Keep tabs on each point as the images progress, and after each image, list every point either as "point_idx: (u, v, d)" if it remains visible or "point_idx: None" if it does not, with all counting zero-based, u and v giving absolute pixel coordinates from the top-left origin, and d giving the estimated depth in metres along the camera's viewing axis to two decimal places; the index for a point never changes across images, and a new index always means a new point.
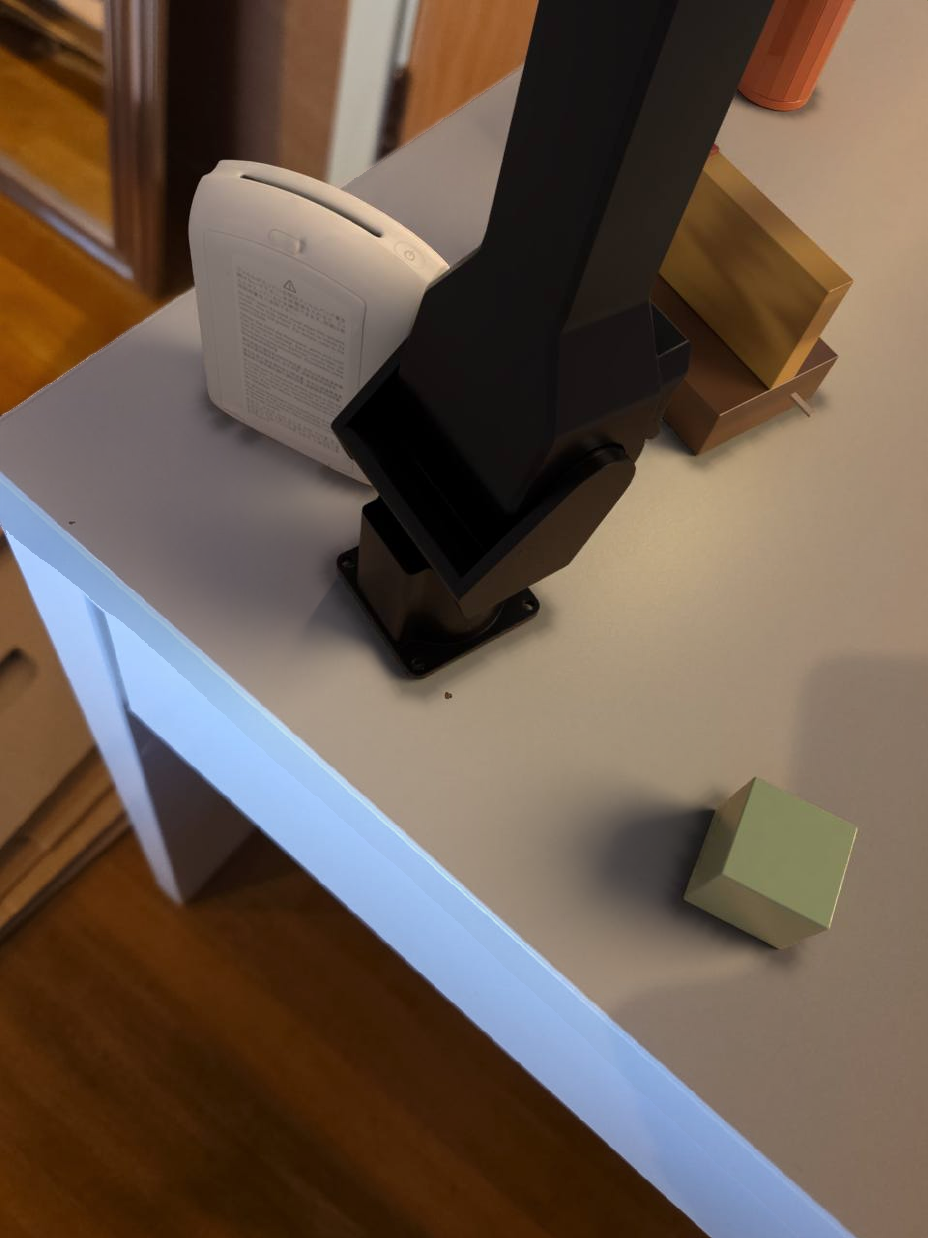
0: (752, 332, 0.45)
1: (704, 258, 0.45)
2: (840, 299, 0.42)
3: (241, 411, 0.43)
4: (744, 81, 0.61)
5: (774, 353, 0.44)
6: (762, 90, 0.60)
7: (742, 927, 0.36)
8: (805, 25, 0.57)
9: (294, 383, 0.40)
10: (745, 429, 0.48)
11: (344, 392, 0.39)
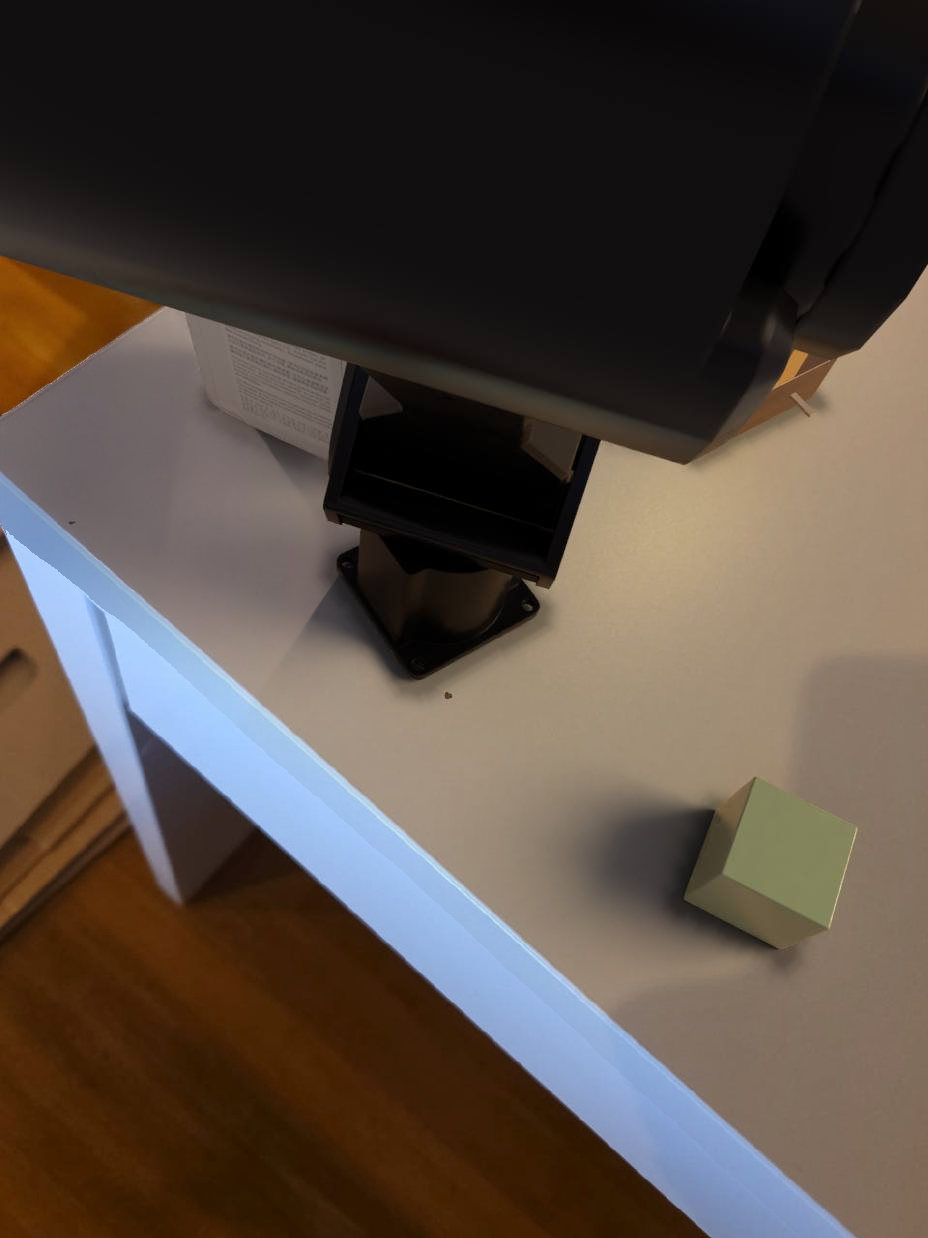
0: None
1: None
2: None
3: (237, 409, 0.43)
4: None
5: None
6: None
7: (742, 927, 0.36)
8: None
9: (281, 378, 0.39)
10: (745, 429, 0.48)
11: (330, 383, 0.38)
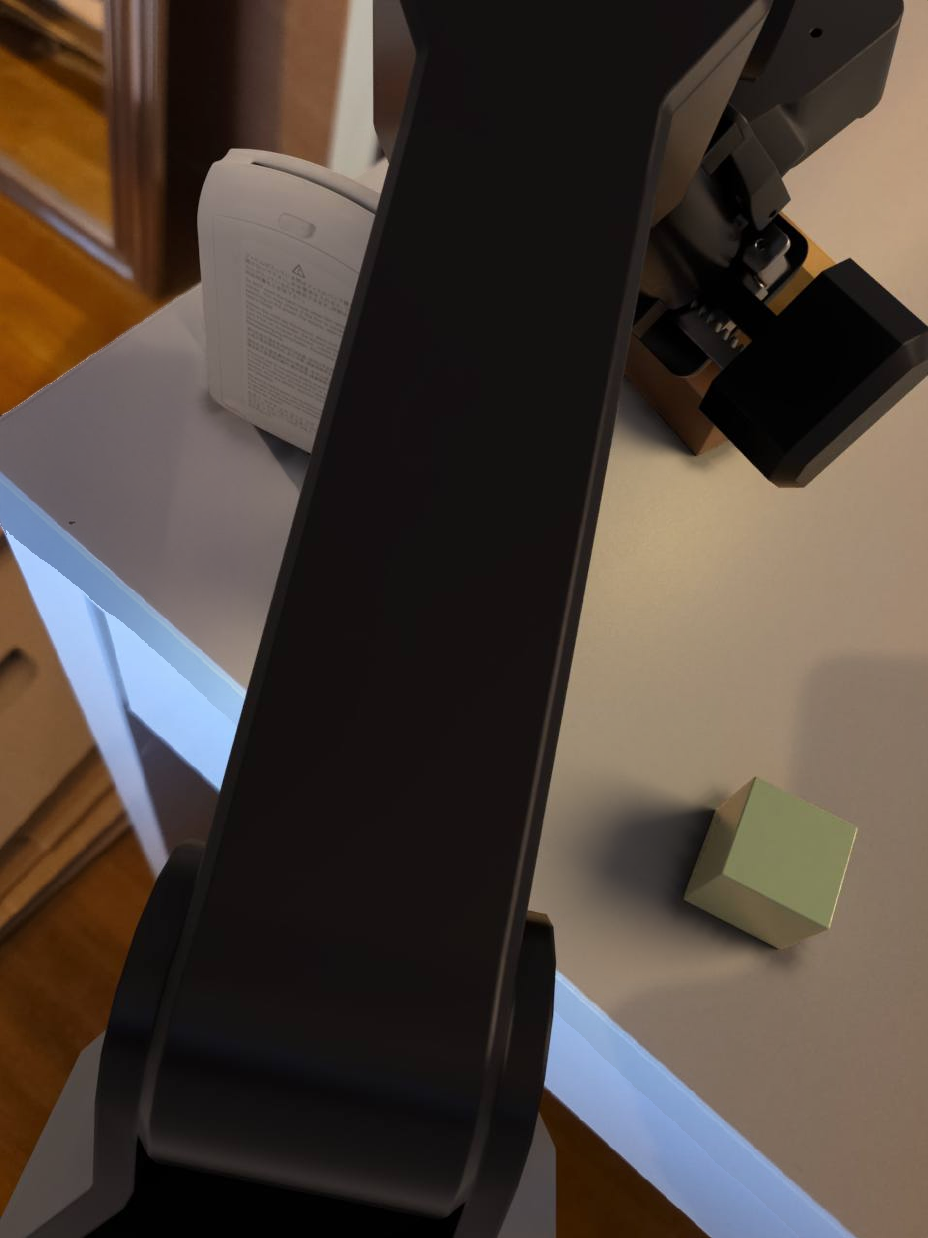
0: None
1: None
2: None
3: (242, 406, 0.43)
4: None
5: None
6: None
7: (742, 927, 0.36)
8: None
9: (298, 374, 0.40)
10: None
11: None
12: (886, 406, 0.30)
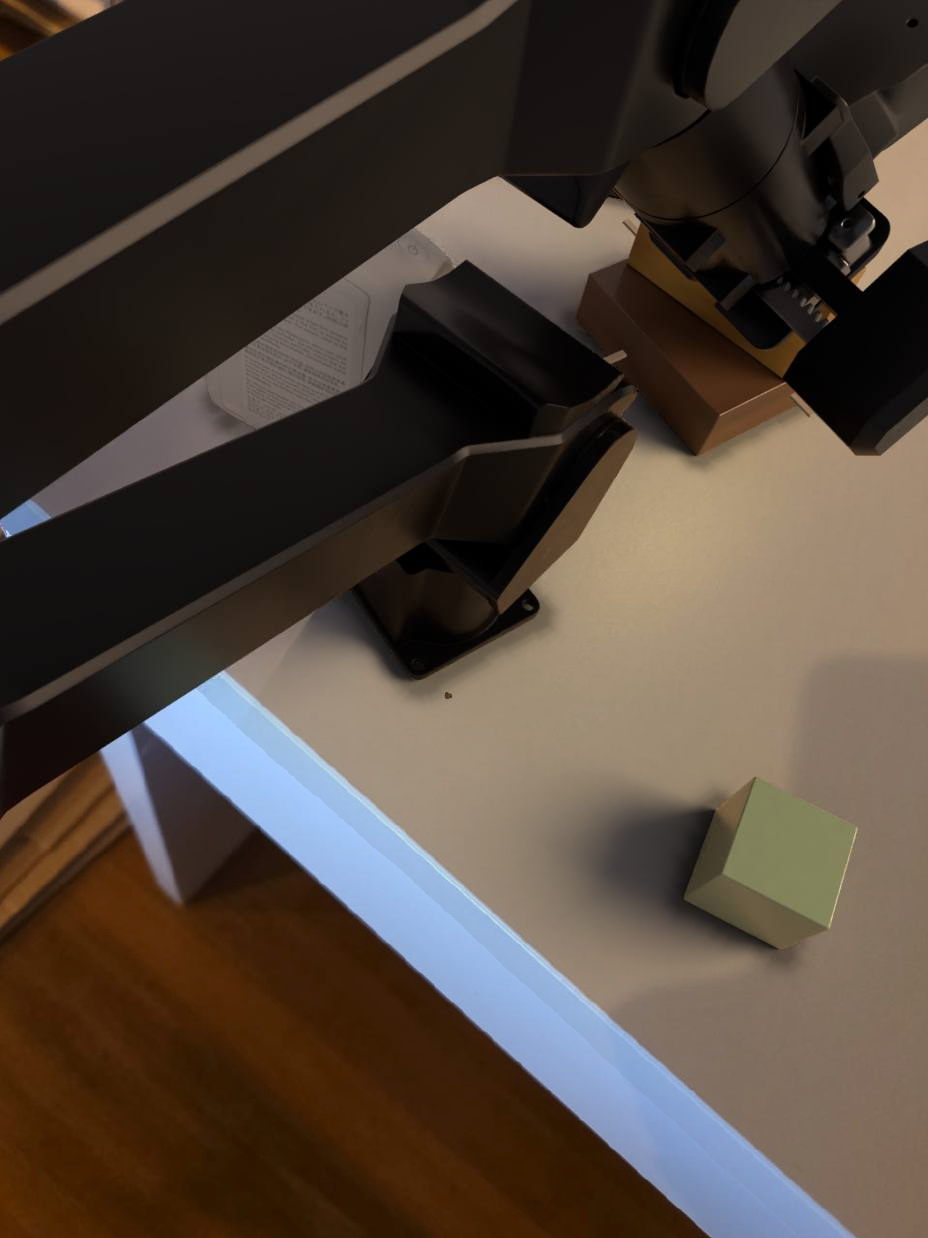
0: None
1: None
2: None
3: (241, 410, 0.43)
4: None
5: (790, 347, 0.45)
6: None
7: (742, 927, 0.36)
8: None
9: (296, 380, 0.40)
10: (745, 429, 0.48)
11: (347, 388, 0.39)
12: None
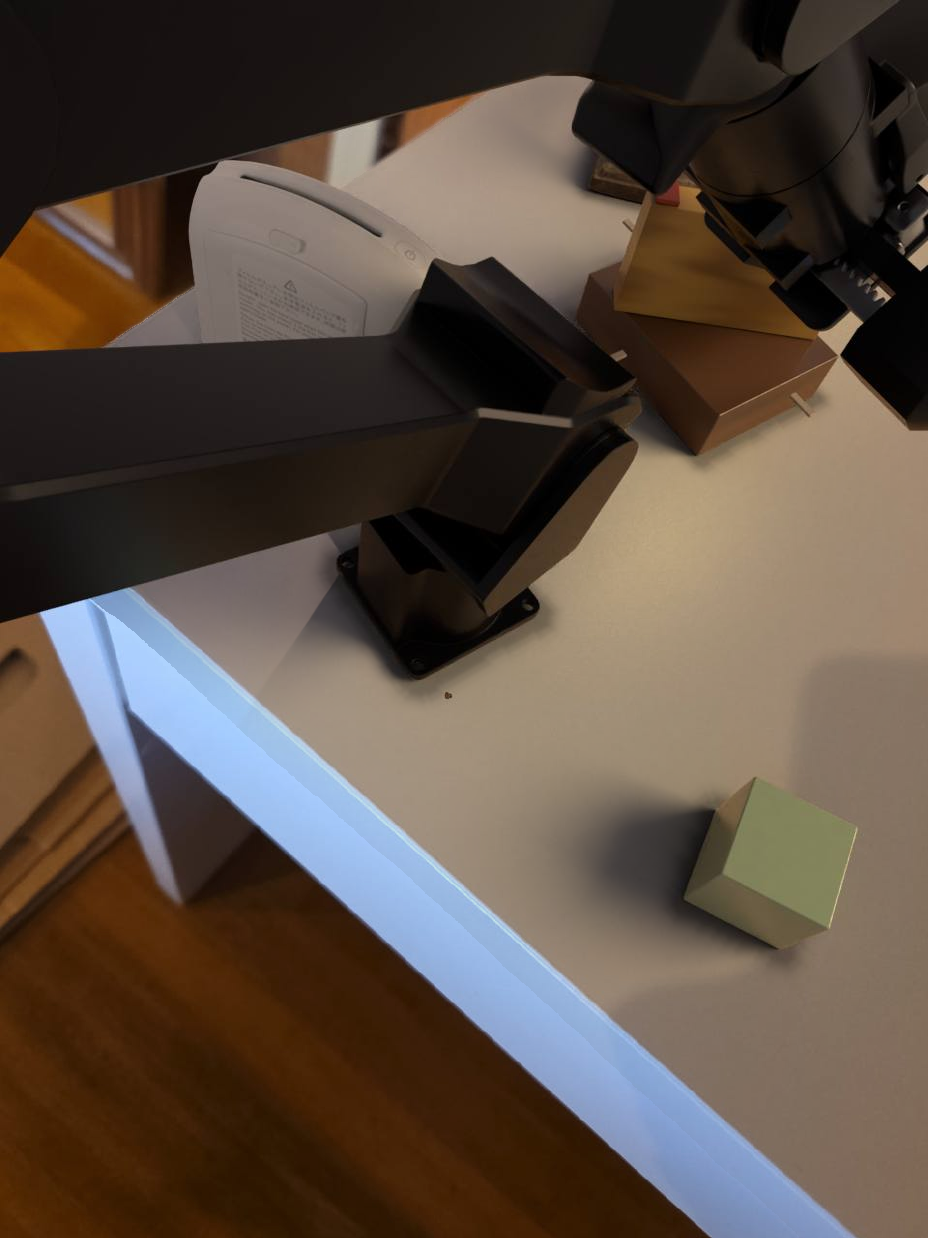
0: (785, 308, 0.46)
1: (709, 279, 0.45)
2: None
3: None
4: None
5: None
6: None
7: (742, 927, 0.36)
8: None
9: None
10: (745, 429, 0.48)
11: None
12: None
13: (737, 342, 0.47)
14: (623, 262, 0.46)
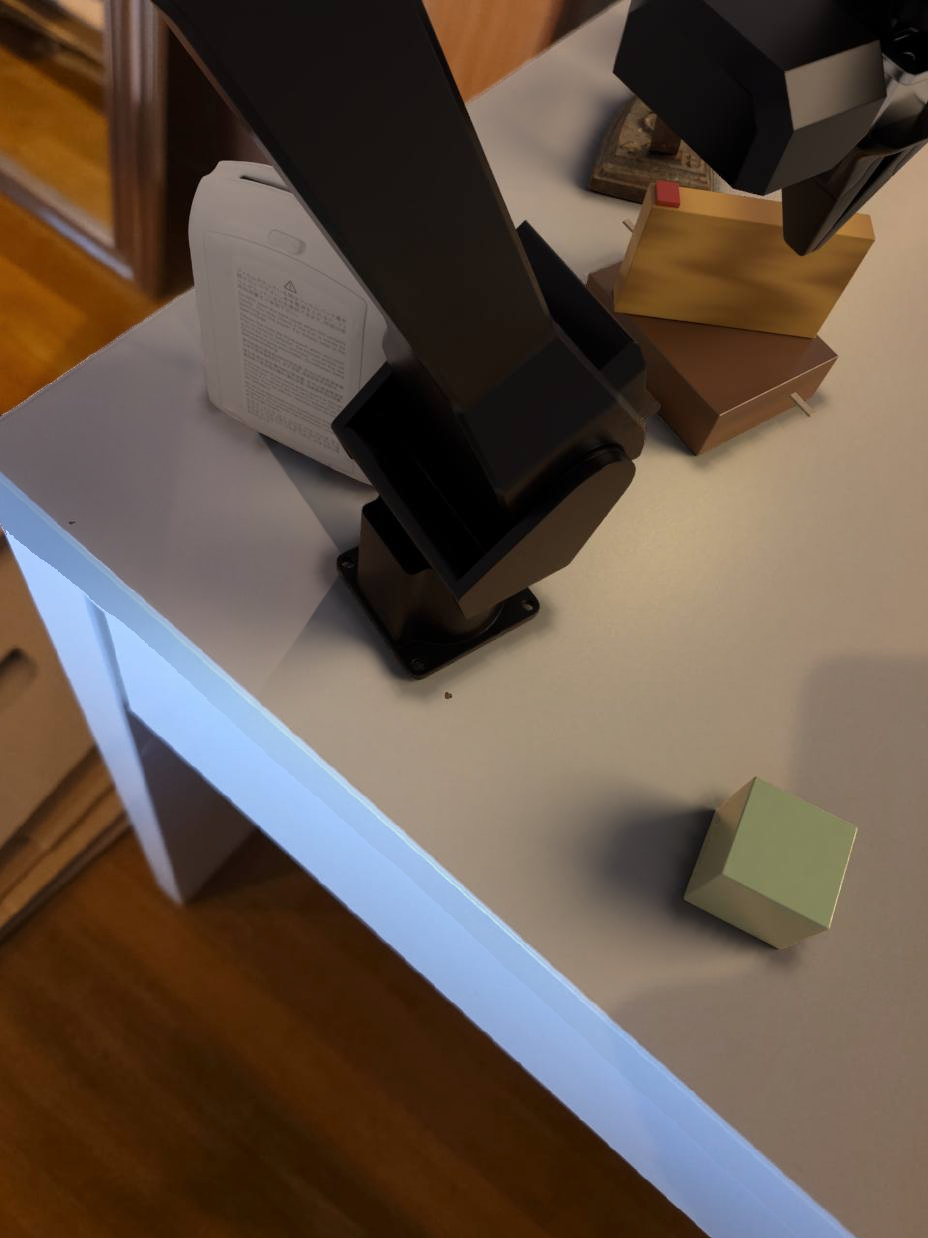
0: (785, 307, 0.46)
1: (709, 279, 0.45)
2: None
3: (241, 412, 0.43)
4: None
5: (815, 310, 0.46)
6: None
7: (742, 927, 0.36)
8: None
9: (294, 384, 0.40)
10: (745, 429, 0.48)
11: (345, 392, 0.39)
12: (700, 124, 0.25)
13: (737, 342, 0.47)
14: (623, 263, 0.46)
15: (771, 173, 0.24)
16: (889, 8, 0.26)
